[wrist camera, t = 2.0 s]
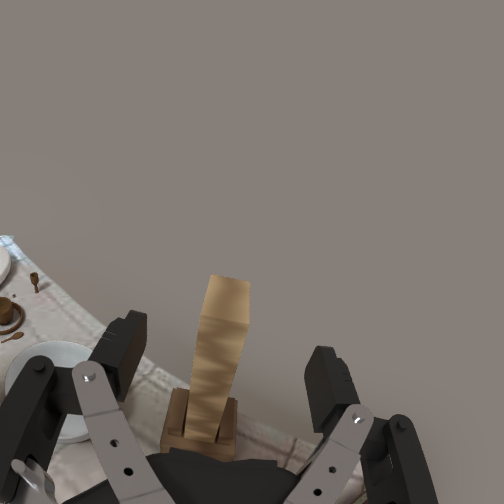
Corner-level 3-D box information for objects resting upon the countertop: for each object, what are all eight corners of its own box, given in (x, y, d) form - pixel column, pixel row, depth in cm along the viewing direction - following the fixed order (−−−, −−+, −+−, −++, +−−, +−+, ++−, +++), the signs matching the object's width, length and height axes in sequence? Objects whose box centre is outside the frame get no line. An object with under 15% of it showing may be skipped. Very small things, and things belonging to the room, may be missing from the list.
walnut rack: (161, 463, 32) (159, 433, 28) (171, 416, 41) (173, 378, 37) (224, 474, 33) (238, 448, 29) (227, 427, 42) (240, 391, 38)
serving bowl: (55, 475, 22) (40, 460, 20) (3, 387, 31) (-10, 363, 28) (144, 418, 39) (142, 397, 37) (80, 350, 48) (75, 326, 45)
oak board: (184, 437, 30) (200, 314, 22) (190, 400, 37) (211, 274, 28) (213, 443, 31) (249, 324, 22) (217, 404, 37) (249, 281, 29)
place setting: (-19, 307, 44) (-25, 288, 42) (39, 288, 60) (36, 270, 58) (-8, 350, 36) (-17, 330, 34) (60, 325, 52) (56, 305, 50)
